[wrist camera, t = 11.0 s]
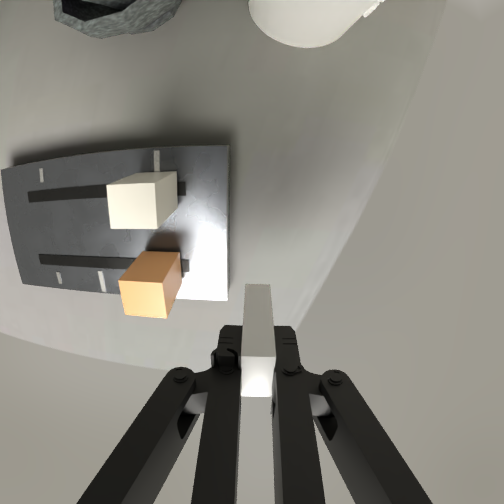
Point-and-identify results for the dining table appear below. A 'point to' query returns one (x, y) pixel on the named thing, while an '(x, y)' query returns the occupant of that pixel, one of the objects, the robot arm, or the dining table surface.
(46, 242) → the console
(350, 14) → the mug
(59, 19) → the mortar and pestle
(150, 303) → the fader
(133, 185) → the fader
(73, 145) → the dining table surface
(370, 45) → the dining table surface
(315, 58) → the dining table surface
